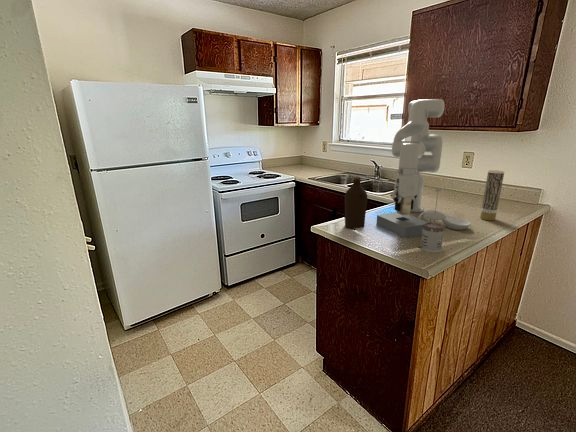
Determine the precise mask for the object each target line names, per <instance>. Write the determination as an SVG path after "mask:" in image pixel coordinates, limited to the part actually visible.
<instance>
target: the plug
mask: <svg viewBox="0 0 576 432" xmlns="http://www.w3.org/2000/svg"><path fill="white" fill-rule="evenodd" d="M398 199H399V197H398ZM411 200H412V197H403V198H402V199H401V201H400V203H401V208H400V211H396V212H397V213H398V214H400V215H410V214H411V212H410V210H411Z"/></svg>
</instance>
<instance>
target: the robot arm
mask: <svg viewBox="0 0 576 432" xmlns="http://www.w3.org/2000/svg"><path fill="white" fill-rule="evenodd" d="M444 101H445V100H443V99H441V98H429V99H428V98H427V99H426V98H425V99H417V100H412V101H410V102H409V103H408V104H407V106H408V107H407V111H408V118H407V121H406V122H407V123H406V124H405V125H403V126H402V127H401V128H400V129H399V130H398V131H397V132H396V133H395V135H394V137H393V142H392V146H391V153H392V156H393V157H394V158H399V162H398V169H397V170H396V172H397V174H396V179H395V182H394V187H393V189H394V190H393V191H392V192H391V193H390V195H389V196H390V198H391V199H392V200H393V202H394V211H395V212H397V211H400V208H401V203H400V201H401V199H402V198H403V197H412V200H411V210H410V213H420V212H421V213H422V212H424V207H422V206H421V205H422V199H423V198H422V197H423V188H424V182H425V180H424V177H423V176H422V174H421V173H427V174H428V173H432V174H434V173H437V172H439V169H440V166H441V158H442V151H443V138H442V135H441V134H433V133H432V134H431V133H430V134H429V130H430V123H429V122H428V118H441V117H442V116H443V114H444V112H445V102H444ZM409 137H410V140H405V139H406V138H409ZM403 140H404V141H403ZM425 153H431V154H425ZM398 197H399V199H398Z"/></svg>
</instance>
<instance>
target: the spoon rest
mask: <svg viewBox="0 0 576 432" xmlns="http://www.w3.org/2000/svg"><path fill="white" fill-rule="evenodd" d="M428 212H435V210H434V209H433V210H432V209H427V210H423V211H421V213H420V214H419V216H417V218H418V219H421V220H422V218H423V216H424V214H426V213H428ZM436 212H439V213H441V214H443V215H445V216H446V218H445V219H444V220H441V222H442V223H443V224H444V225H445V226H446V227H447V228H448V229H451V230H454V231H455V230H456V231H461V230H465V229H467V228H469V227H471V222H470V221H469V220H466V219H464V218H461V217H457V216H454V215H453V216H452V215H450V214H447V213H444V212H442V211H438V210H436Z"/></svg>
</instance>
